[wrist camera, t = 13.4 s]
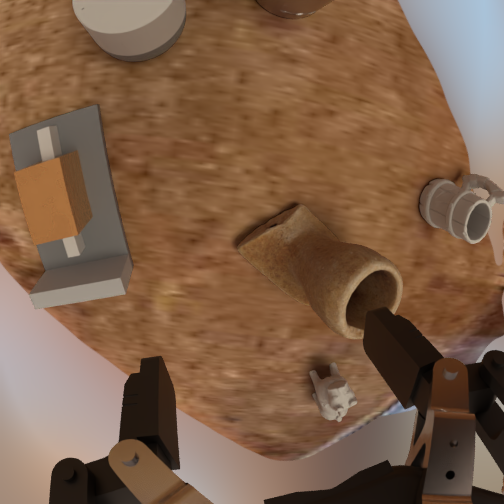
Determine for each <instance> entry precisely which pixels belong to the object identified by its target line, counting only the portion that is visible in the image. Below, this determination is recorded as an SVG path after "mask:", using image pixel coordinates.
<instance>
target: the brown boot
mask: <svg viewBox="0 0 504 504" xmlns="http://www.w3.org/2000/svg"><path fill="white" fill-rule="evenodd" d="M237 249H238V252H239V253H240V254H241V255H242V256H243V257H245V258H246V259H247V260H248V261H249V262H250V263H251V264H252V265H253V266H254V267H255V268H256V269H257V270H259V271H260V272H261V273H262V274H263V275H264V276H266V277H268V278H269V280H271V281H272V282H273V283H274V284H275V285H276V286H278V287H279V288H280V289H281V290H282V291H284V292H285V293H286V294H288V295H289V296H291V297H292V298H293V299H295V300H296V301H298V302H300V303H302V304H304V305H311V307H312V309H313V310H314V311H315V312H316V314H317V315H318V316H319V317H320V318H321V319H322V321H323V322H324V323H325V324H326V325H327V326H328V327H329V328H330V329H332V330H333V331H334V332H335V333H337V334H339V335H341V336H343V337H346V338H350V339H363V336H364V328H365V319H366V313H367V312H368V311H370V310H373V309H377V308H380V307H384V306H385V307H387V308H388V309H389V310H390V311H391V312H392V313H393V314H394V313H395V312H396V310H397V308H398V306H399V303H400V300H401V296H402V290H403V280H402V277H401V275H400V272H399V270H398V269H397V267H396V266H395V265H394V264H393V263H392V262H391V261H390V260H388V259H387V258H385V257H383V256H381V255H380V254H379V253H377V252H376V251H374V250H372V249H370V248H368V247H365V246H362V245H357V244H350V243H344V242H340V241H339V240H338V239H337V238H336V236H335V235H334V234H333V233H332V232H331V231H330V230H329V229H328V228H327V227H326V226H325V225H324V224H323V223H322V222H321V221H320V220H318V219H317V218H316V217H315V216H314V215H313V214H312V213H311V211H310V210H309V209H308V208H307V207H305V206H304V205H302V204H299V205H297V206H295V207H294V208H292V209H290V210H287V211H284V212H283V213H282V214H280V215H277V216H276V217H275V218H272V219H270V220H269V221H268V222H267V223H266V224H264V225H261V226H260V227H258V228H257V229H255V230H254V231H253V232H252V233H251V234H249V235H248V236H247V237H246V238H245V239H244V240H243V241H242V242H241V243H240V244H239V245H238V247H237Z"/></svg>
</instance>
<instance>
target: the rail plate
mask: <svg viewBox="0 0 504 504" xmlns="http://www.w3.org/2000/svg"><path fill="white" fill-rule="evenodd" d="M9 137H10V143H11V149H12V154H13V159H14V164H15V169H16V171H18V170H21V169H23V168H25V167H28V166H30V165H33V164H35V163H38V162H41V161H42V162H43V161H46V160H49V159H53V158H56V157H59V156H62V155H64V154H67V153H70V152H73V151H77V150H78V153H79V158H80V163H81V168H82V173H83V178H84V182H85V187H86V191H87V195H88V199H89V203H90V208H91V211H92V215H93V217H92V218H91V220H90V221H89V222H88V223H87V225H86V226H85V227H84V228H83V230H82V231H81V232H80V234H79V235H77V236H72V237H68V238H63V239H59V240H55V241H51V242H46V243H42V244H38V245H37V248H38V251H39V254H40V257H41V260H42V263H43V265H44V268H45V272H44V274H43V275H42V277H41V278H40V279H39V281H38V282H37V284H36V285H35V286H34V288H33V289H32V291H31V292H30V294H29V296H30V298H31V301H32V303H33V305H34V307H35V309H40V308H46V307H52V306H59V305H65V304H71V303H77V302H83V301H89V300H95V299H101V298H106V297H112V296H118V295H124V294H126V291H127V288H128V284H129V280H130V276H131V273H132V269H133V266H134V265H133V262H132V258H131V254H130V251H129V247H128V243H127V240H126V236H125V232H124V228H123V224H122V220H121V216H120V212H119V207H118V203H117V199H116V194H115V190H114V185H113V180H112V175H111V171H110V166H109V160H108V155H107V150H106V144H105V138H104V132H103V126H102V120H101V113H100V106H99V105H98V104H97V105H93V106H90V107H86V108H83V109H79V110H76V111H73V112H69V113H66V114H63V115H60V116H57V117H54V118H51V119H48V120H45V121H43V122H40V123H37V124H34V125H32V126H29V127H26V128H24V129H21V130H19V131H16V132H14V133H11V134H9Z"/></svg>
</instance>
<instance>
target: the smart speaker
mask: <svg viewBox="0 0 504 504" xmlns="http://www.w3.org/2000/svg"><path fill="white" fill-rule="evenodd" d="M73 9H74V12H75V15H76V16H77V18H78V20H79V21H80V22H81V24H82V25H83V26H84V28H85V29H86V30H87V31H88V33H89V34H90V35H91V37H92V38H93V39H94V41H95V42H96V43H97V44H98V45H99V46H100V47H101V48H102V49H103V50H104V51H105V52H106V53H108V54H109V55H111V56H112V57H114V58H117V59H120V60H123V61H131V62H136V61H145V60H149V59H152V58H154V57H157V56H159V55H160V54H162V53H164V52H165V51H167V50H168V49H169V48H170V47H171V46H172V45H173V44H174V43H175V42H176V41H177V39H178V38H179V36H180V35H181V33H182V31H183V28H184V25H185V20H186V4H185V0H73Z"/></svg>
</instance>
